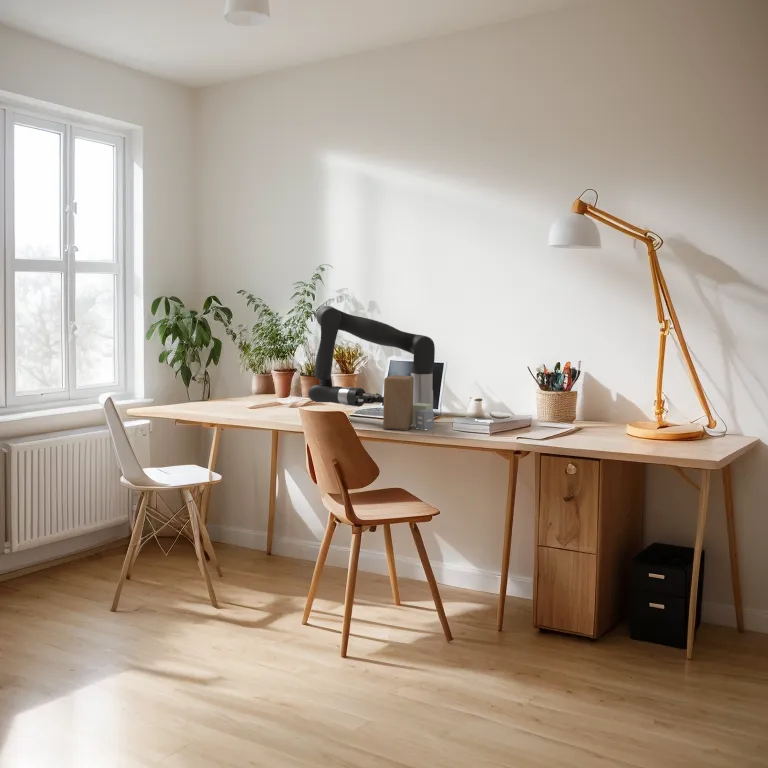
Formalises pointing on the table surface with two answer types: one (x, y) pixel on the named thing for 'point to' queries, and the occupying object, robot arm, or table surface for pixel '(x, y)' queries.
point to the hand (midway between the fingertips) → (386, 400)
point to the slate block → (425, 419)
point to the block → (398, 402)
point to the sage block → (420, 407)
